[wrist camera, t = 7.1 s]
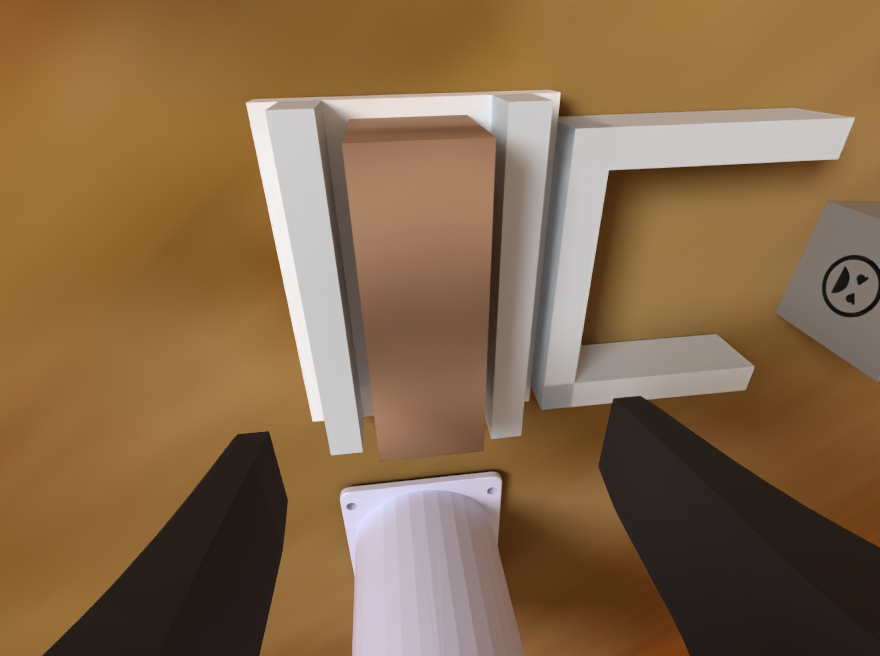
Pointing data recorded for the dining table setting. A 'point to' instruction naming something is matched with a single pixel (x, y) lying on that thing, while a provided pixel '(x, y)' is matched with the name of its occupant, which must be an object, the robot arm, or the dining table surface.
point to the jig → (507, 243)
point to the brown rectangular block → (423, 276)
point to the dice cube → (840, 284)
